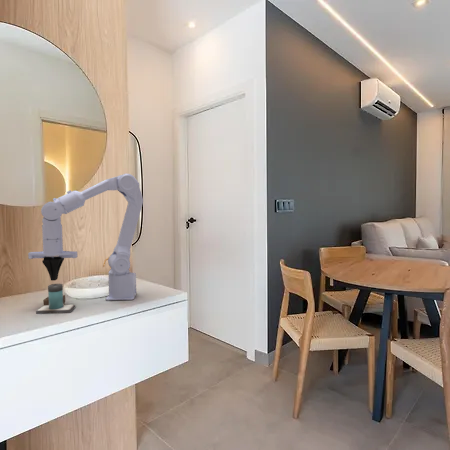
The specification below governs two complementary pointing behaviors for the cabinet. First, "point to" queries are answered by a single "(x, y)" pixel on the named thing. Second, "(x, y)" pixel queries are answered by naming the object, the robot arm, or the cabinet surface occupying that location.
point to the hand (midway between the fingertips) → (54, 279)
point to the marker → (55, 296)
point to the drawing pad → (46, 309)
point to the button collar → (46, 301)
